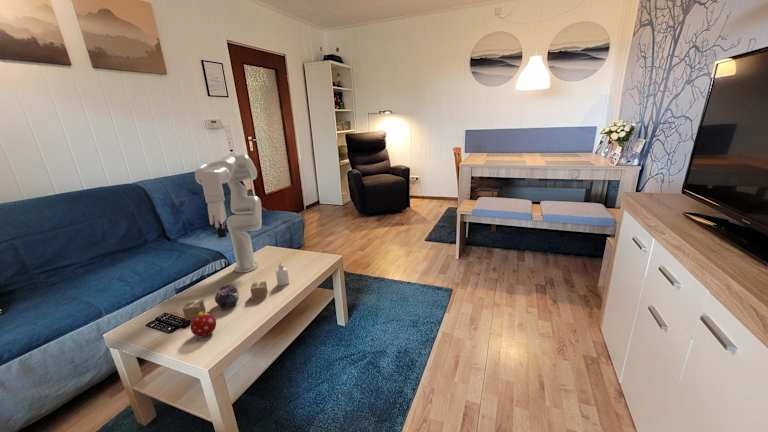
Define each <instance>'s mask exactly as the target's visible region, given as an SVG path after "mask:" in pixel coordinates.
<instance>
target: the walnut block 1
mask: <svg viewBox="0 0 768 432" xmlns="http://www.w3.org/2000/svg"><path fill="white" fill-rule="evenodd" d="M250 293H251V294H250V295H251V300H252V301H257V300H263V299H264V300H265V299H267V297H268V286H267V280H264V281H258V282H257V281H256V282H252V284H251V287H250Z"/></svg>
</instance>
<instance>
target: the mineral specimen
mask: <svg viewBox="0 0 768 432" xmlns="http://www.w3.org/2000/svg"><path fill="white" fill-rule="evenodd" d="M239 296H240V293H239V290H238V289H237V287H236V286H235V285H234V284H232V283H231V284H228V285H224V286H221V287H218V289H217V290H216V292H215V294H214V302H215V303H216V304H217V306H218V307H219V308H220V309H221V310H225V309H227V308H229V307H232V306H235V305H236V304H237V303H238V301H239V298H240V297H239Z"/></svg>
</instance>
